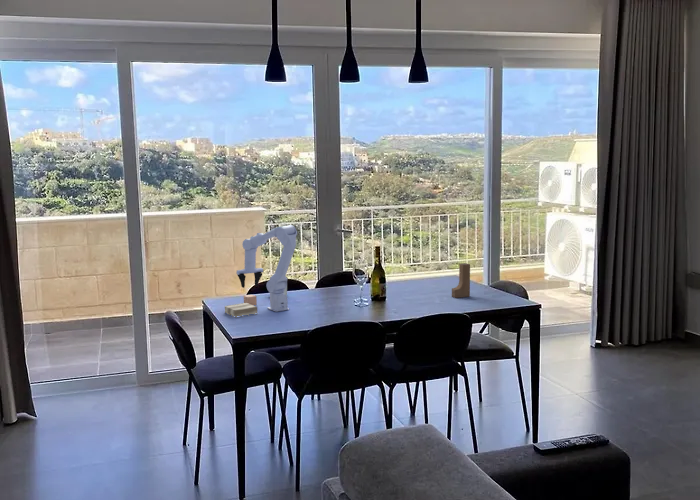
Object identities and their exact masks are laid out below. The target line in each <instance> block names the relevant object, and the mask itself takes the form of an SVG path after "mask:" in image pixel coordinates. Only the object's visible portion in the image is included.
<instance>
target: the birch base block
mask: <svg viewBox="0 0 700 500" xmlns="http://www.w3.org/2000/svg"><path fill="white" fill-rule="evenodd" d="M226 313H227V315H228V314H229V315H228V316H231V315H232V316H231V317H233V316H235V317H236V318H238V317H237V316H242V315H248V316H250V315H249V314H254V315H256V314H255V313H257V314H258V307H257V305H255V306H254V305H251V304H249V303H244V302H242V303H235V304H230V305H224V314H226ZM235 317H234V318H235ZM242 317H243V316H242Z"/></svg>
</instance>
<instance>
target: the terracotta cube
mask: <svg viewBox="0 0 700 500" xmlns="http://www.w3.org/2000/svg"><path fill="white" fill-rule="evenodd" d="M243 303H249V304H251V305H255V306H258V302H257V295H255V294H246V295H243Z"/></svg>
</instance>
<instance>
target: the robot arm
mask: <svg viewBox="0 0 700 500" xmlns="http://www.w3.org/2000/svg"><path fill="white" fill-rule="evenodd" d="M297 236H298V231H297V229H296V227H295V226H294V225H292V224H289V225H284V226H283V225H282V226H277V227H274V228H272V229H271V230H269V231H266V232H265V233H263V232H257V233H256V234H255V235H254V236H253V235H252V236H250V238H245V239H244V240H243V241H242V247H243V249H244V268H243V269H238V270H236V275H237V277H238V279H239V281H240V287H241V288H242V289H245V287H246V285H245V284H246V275H247V274H253V276H254V286H256V287H259V286H258V285H259V282H260V280H261V278H262V276H263V273H264V268H262V267H256V266H257V263H256V260H257V259H256V258H257V257H256V255H257V249H258V247H260V246H263V245H264V244H266V243H267V241H268V240H269V239H272V238H277V239H278V241H279V242H280V244H281V245H282V246H283V249H282V250H281V255H280V257H279V261H278V264H277V266H276V267H275V268H276V269H275V271H274V273H273V274H272V275H271V276H270V277H271V278H270V277H269V280H268V281H267V282H266V286H265V287H266V289H267V291H268V293H269V301H270V303H269V306H268V307H266V308H267V310H270V311H273V312H283V311H287V310H288V311H289V310H290V308H289V307H288V305H289V304H288V296H287V295H285V294H284V291H285V288H286V287H287V288H288V277H287V275H286V274H287V273H288V269H289V267H290V264H291V262H292V258H293V255H294V252H295V250H296V246H297V241H296V240H297V238H296V237H297Z"/></svg>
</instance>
